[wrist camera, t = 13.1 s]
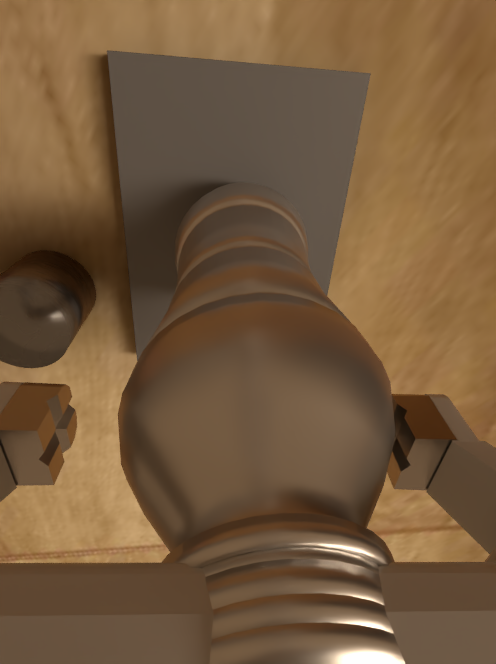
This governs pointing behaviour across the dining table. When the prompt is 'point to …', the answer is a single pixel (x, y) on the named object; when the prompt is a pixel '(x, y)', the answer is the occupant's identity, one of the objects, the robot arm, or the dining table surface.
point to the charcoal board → (226, 154)
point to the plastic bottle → (264, 441)
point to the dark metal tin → (42, 308)
